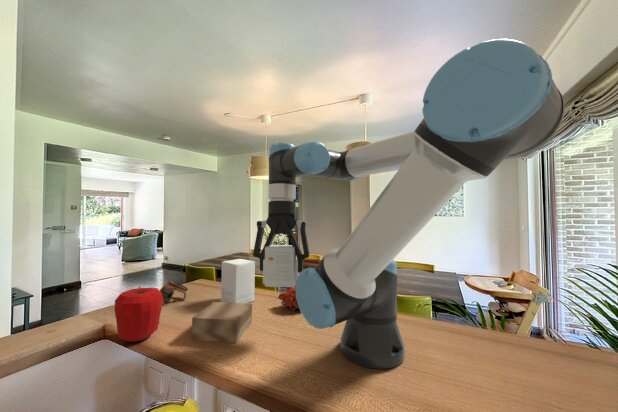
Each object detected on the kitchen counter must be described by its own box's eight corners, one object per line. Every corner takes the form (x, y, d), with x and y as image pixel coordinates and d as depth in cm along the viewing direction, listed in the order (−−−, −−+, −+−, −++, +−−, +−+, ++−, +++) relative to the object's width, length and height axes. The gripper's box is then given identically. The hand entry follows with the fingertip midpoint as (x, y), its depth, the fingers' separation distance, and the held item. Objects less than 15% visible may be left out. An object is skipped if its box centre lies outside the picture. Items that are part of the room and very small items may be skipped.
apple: (118, 353, 59) (120, 294, 60) (109, 338, 66) (111, 285, 67) (167, 337, 67) (169, 285, 68) (154, 325, 74) (156, 278, 74)
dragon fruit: (313, 316, 86) (280, 317, 89) (315, 295, 93) (284, 296, 96) (306, 300, 82) (272, 302, 85) (310, 279, 89) (277, 281, 92)
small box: (297, 282, 72) (297, 245, 73) (293, 287, 67) (294, 247, 67) (269, 281, 73) (269, 244, 74) (264, 286, 68) (264, 246, 68)
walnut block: (251, 323, 77) (252, 303, 77) (236, 344, 65) (236, 320, 65) (213, 321, 78) (214, 301, 78) (191, 341, 66) (192, 317, 66)
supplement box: (255, 301, 96) (256, 260, 96) (235, 307, 89) (236, 264, 89) (240, 295, 101) (241, 258, 102) (220, 301, 94) (221, 261, 95)
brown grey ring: (157, 299, 97) (170, 279, 100) (180, 309, 98) (192, 289, 101) (147, 302, 86) (161, 278, 89) (173, 313, 87) (187, 290, 90)
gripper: (320, 201, 73) (320, 281, 73) (250, 201, 76) (248, 278, 75) (318, 199, 66) (318, 288, 65) (240, 199, 68) (239, 285, 67)
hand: (281, 283), depth 70 cm, fingers closed on small box, 8 cm apart
